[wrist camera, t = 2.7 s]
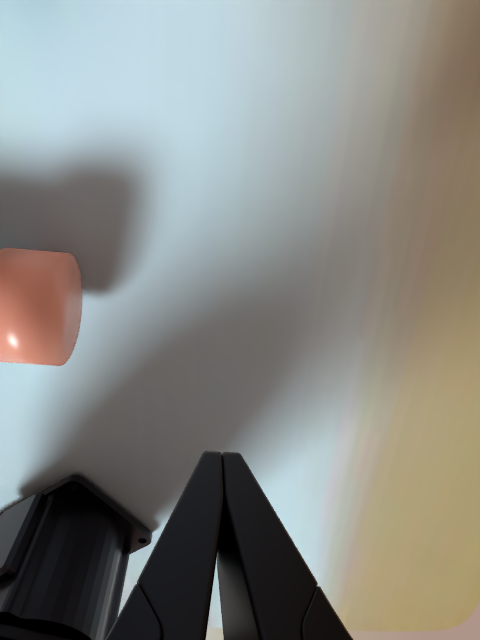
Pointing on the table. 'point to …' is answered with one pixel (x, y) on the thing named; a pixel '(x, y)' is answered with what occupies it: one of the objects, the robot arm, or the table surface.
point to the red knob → (39, 306)
